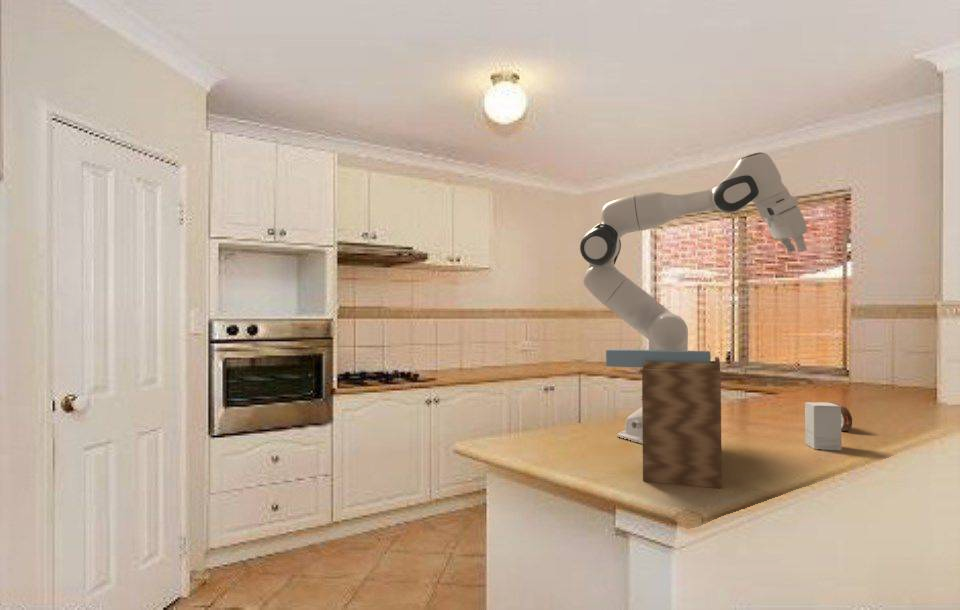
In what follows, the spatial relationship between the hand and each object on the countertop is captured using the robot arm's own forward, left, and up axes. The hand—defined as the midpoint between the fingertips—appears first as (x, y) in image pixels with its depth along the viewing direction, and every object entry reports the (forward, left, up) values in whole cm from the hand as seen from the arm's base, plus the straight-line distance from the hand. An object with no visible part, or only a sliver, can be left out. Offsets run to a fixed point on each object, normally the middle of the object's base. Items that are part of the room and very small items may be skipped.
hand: (797, 251), depth 161 cm
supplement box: (+1, +13, -56) cm, 58 cm away
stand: (-9, -45, -56) cm, 72 cm away
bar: (-14, -47, -30) cm, 58 cm away
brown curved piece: (-7, +45, -56) cm, 73 cm away
